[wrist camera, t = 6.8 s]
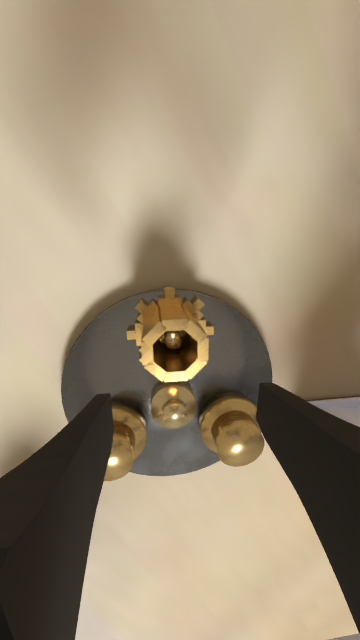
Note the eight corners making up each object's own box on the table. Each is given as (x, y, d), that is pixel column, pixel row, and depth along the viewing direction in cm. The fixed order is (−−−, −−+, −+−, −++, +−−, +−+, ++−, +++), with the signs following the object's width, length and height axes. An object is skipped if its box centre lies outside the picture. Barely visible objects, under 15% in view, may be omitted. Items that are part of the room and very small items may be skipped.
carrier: (277, 285, 20) (310, 295, 16) (258, 457, 26) (279, 498, 22) (48, 292, 18) (16, 304, 14) (80, 476, 24) (64, 526, 19)
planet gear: (210, 285, 19) (229, 296, 14) (208, 361, 21) (225, 393, 16) (125, 288, 18) (115, 301, 13) (131, 366, 20) (125, 402, 15)
